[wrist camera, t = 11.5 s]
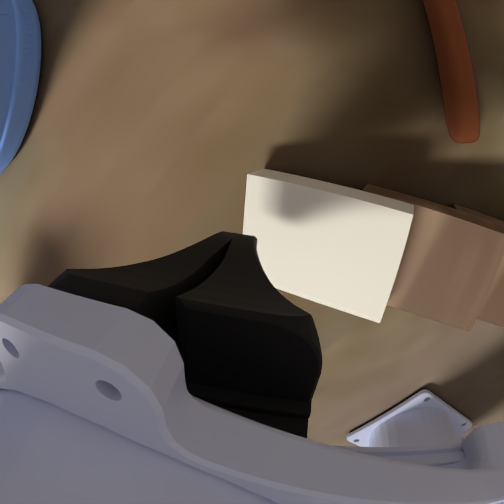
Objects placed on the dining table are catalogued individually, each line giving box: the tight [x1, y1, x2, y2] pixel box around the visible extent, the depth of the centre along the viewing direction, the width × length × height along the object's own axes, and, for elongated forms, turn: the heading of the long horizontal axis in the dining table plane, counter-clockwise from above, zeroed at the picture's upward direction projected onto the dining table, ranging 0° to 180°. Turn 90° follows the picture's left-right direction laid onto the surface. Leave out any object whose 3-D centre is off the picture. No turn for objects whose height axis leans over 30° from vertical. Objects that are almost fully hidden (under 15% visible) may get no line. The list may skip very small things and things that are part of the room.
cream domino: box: [243, 169, 414, 323], centre depth 14 cm, size 2×5×7 cm
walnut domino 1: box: [362, 184, 504, 331], centre depth 13 cm, size 2×5×7 cm
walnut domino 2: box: [453, 204, 504, 327], centre depth 13 cm, size 2×5×7 cm
